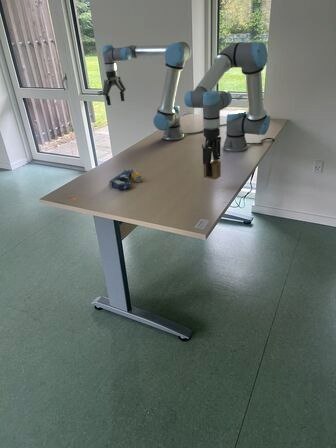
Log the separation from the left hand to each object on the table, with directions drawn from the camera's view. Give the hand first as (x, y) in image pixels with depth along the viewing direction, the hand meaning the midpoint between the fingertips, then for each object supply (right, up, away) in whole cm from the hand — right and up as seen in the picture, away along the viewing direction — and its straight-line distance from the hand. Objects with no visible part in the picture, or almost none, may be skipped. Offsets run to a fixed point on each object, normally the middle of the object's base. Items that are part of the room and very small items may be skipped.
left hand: (116, 103), depth 238 cm
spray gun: (+15, -63, -53) cm, 84 cm away
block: (+59, -63, -72) cm, 112 cm away
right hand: (+59, -61, -72) cm, 112 cm away
